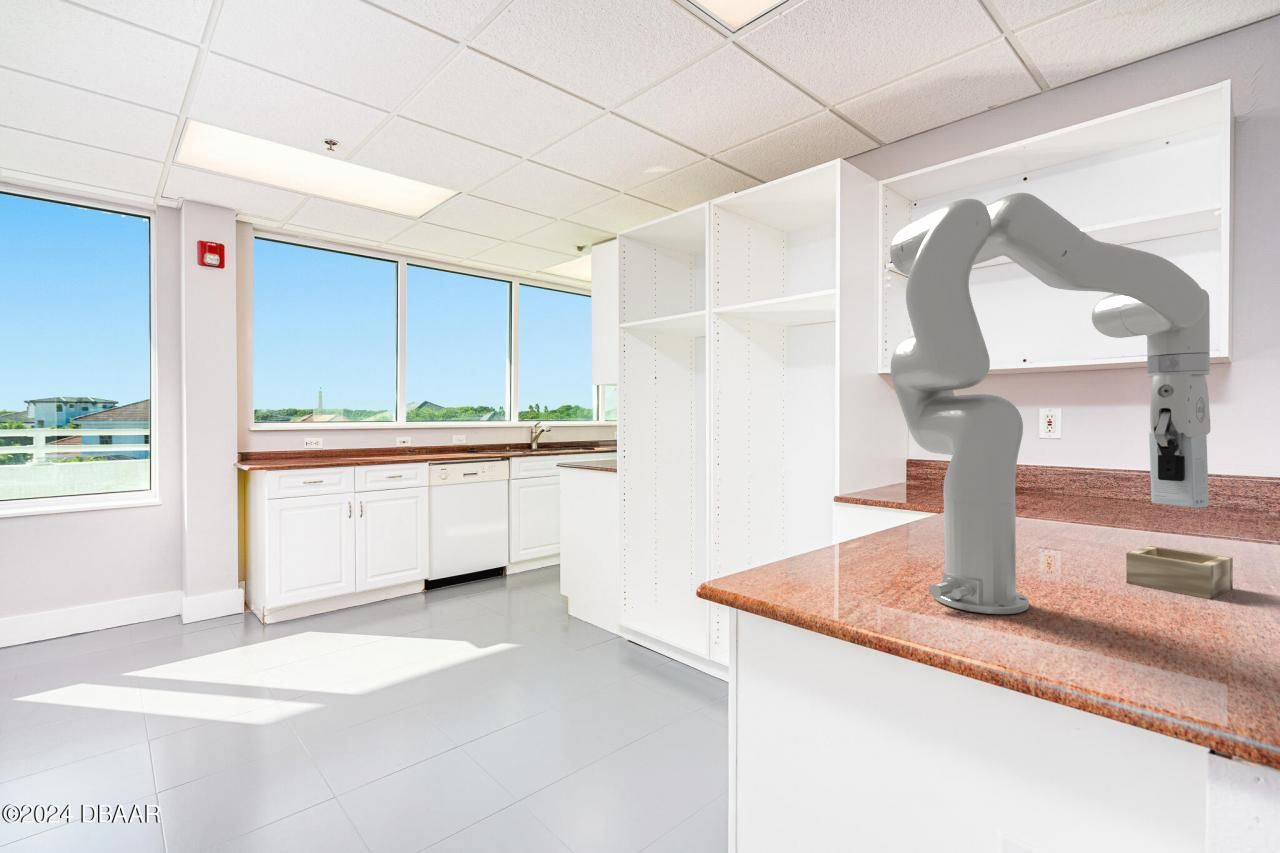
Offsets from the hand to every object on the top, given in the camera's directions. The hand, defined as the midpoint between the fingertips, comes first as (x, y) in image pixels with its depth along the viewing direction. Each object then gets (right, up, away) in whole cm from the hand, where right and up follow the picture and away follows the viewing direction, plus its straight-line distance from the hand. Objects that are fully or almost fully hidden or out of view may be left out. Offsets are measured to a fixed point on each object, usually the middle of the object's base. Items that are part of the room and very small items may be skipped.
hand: (1178, 478), depth 97 cm
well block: (0, -18, 0) cm, 18 cm away
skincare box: (0, -5, 0) cm, 5 cm away
